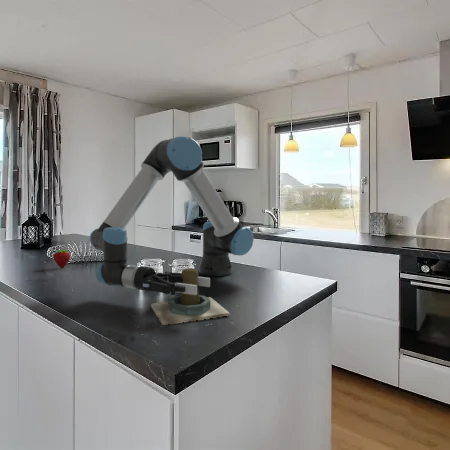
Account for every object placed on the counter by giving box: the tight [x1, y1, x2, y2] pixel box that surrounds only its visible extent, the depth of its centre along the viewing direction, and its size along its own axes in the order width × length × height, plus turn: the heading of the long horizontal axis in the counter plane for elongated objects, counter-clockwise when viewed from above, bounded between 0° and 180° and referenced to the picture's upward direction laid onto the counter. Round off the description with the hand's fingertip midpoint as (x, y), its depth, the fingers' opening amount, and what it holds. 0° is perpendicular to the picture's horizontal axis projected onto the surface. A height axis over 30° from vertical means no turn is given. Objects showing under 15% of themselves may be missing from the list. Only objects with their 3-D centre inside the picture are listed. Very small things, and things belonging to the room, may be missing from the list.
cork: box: [180, 267, 200, 306], centre depth 107 cm, size 6×6×11 cm
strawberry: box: [52, 248, 71, 269], centre depth 158 cm, size 6×8×10 cm
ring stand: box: [150, 294, 231, 326], centre depth 105 cm, size 20×16×4 cm
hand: (203, 286), depth 103 cm, fingers open, 8 cm apart
